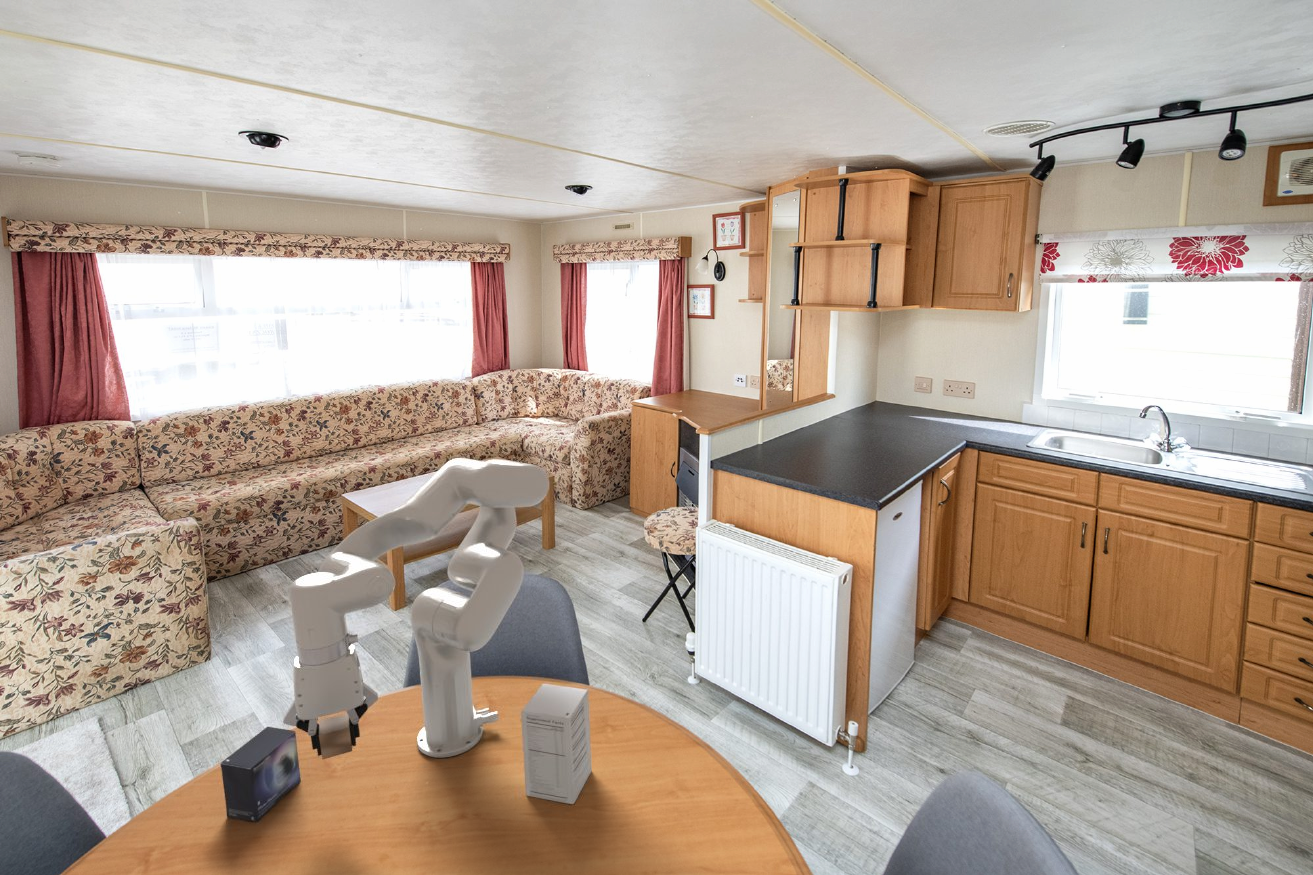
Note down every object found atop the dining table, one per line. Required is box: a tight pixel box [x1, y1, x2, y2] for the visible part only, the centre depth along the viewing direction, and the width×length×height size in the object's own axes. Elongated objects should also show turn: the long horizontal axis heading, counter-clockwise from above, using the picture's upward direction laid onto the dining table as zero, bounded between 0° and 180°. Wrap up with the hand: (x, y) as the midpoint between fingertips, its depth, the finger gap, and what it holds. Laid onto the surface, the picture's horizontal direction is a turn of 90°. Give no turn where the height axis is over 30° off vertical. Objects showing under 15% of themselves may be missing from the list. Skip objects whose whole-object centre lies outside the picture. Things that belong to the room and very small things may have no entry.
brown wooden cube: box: [318, 712, 353, 760], centre depth 110 cm, size 4×4×4 cm
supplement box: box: [520, 683, 592, 805], centre depth 117 cm, size 10×9×17 cm
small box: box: [220, 726, 302, 823], centre depth 114 cm, size 11×6×10 cm, turn 168°
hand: (337, 744), depth 110 cm, fingers closed on brown wooden cube, 4 cm apart
